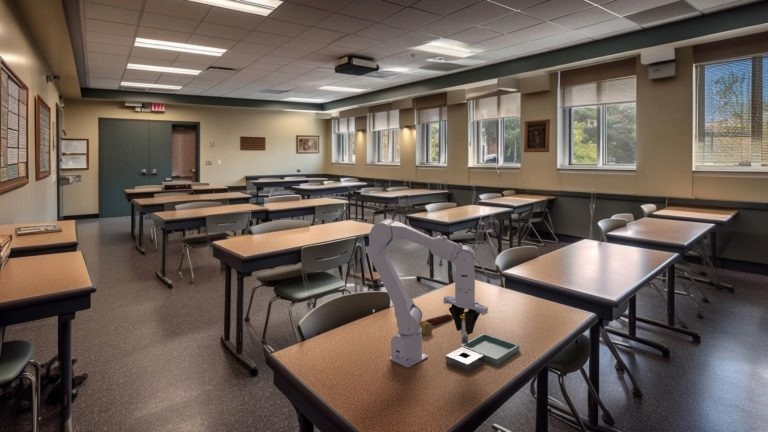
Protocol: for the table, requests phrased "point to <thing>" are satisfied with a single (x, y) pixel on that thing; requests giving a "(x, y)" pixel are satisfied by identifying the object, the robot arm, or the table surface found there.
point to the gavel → (433, 323)
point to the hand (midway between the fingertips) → (464, 331)
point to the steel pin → (463, 329)
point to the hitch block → (464, 359)
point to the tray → (492, 348)
